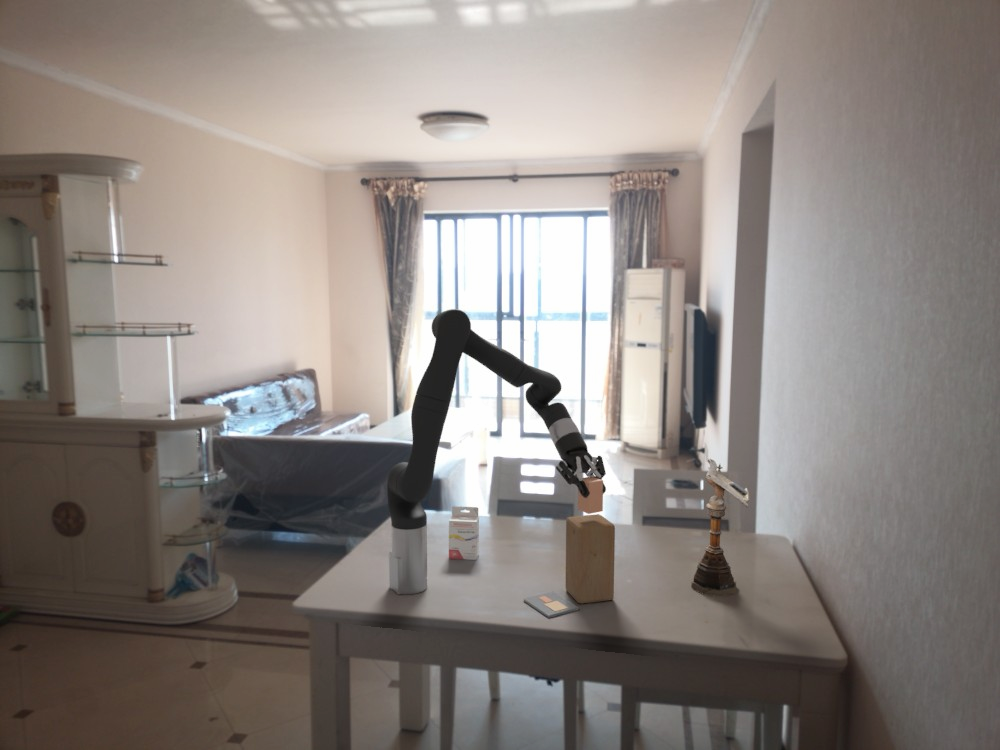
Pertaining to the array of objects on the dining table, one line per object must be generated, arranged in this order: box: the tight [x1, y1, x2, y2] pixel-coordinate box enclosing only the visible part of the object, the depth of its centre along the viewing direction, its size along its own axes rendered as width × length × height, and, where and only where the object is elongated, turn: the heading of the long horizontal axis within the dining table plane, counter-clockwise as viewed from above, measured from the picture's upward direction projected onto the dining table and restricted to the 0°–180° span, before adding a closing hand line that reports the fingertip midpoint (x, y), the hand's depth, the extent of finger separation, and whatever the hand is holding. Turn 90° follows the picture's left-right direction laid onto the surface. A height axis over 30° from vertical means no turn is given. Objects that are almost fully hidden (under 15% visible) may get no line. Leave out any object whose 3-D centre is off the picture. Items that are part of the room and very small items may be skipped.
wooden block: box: [565, 514, 616, 604], centre depth 179 cm, size 10×10×20 cm
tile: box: [523, 591, 580, 619], centre depth 174 cm, size 9×11×1 cm
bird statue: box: [690, 458, 751, 597], centre depth 184 cm, size 17×13×35 cm
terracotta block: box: [577, 476, 604, 515], centre depth 178 cm, size 4×4×8 cm
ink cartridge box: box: [448, 505, 480, 561], centre depth 207 cm, size 9×5×15 cm, turn 84°
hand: (595, 494), depth 176 cm, fingers closed on terracotta block, 4 cm apart
